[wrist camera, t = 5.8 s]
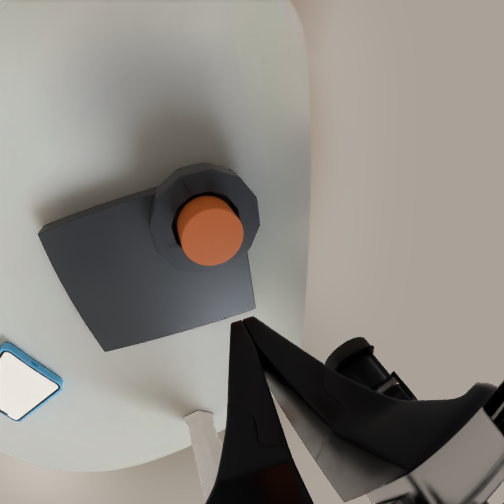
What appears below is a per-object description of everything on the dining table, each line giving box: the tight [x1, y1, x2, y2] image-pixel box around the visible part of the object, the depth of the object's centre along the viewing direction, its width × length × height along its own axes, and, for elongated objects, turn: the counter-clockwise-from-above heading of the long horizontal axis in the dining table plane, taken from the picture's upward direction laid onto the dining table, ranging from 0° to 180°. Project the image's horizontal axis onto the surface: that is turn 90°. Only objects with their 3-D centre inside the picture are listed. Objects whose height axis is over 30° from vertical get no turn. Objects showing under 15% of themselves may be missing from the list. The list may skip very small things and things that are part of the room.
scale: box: [38, 163, 260, 352], centre depth 17 cm, size 14×12×3 cm
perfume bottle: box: [183, 411, 223, 502], centre depth 24 cm, size 5×4×15 cm
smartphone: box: [0, 343, 62, 422], centre depth 18 cm, size 8×1×15 cm
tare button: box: [177, 195, 244, 266], centre depth 14 cm, size 3×3×2 cm
